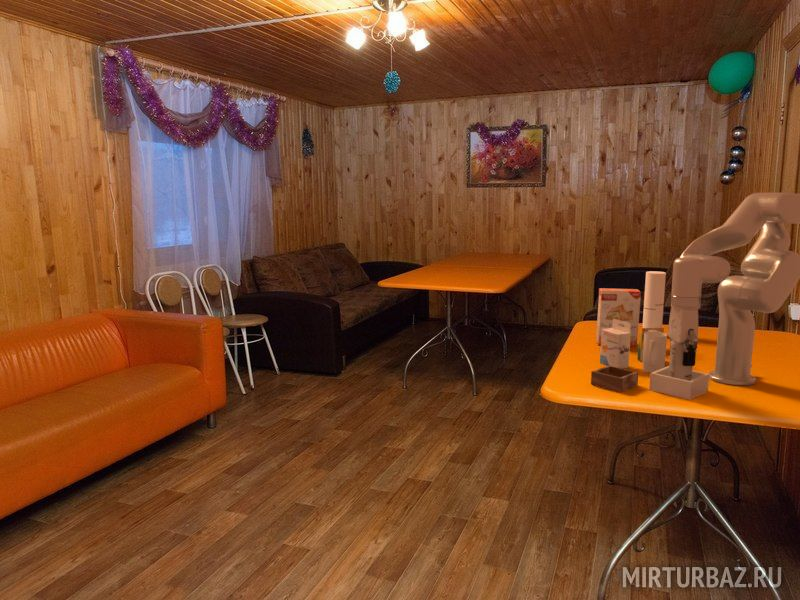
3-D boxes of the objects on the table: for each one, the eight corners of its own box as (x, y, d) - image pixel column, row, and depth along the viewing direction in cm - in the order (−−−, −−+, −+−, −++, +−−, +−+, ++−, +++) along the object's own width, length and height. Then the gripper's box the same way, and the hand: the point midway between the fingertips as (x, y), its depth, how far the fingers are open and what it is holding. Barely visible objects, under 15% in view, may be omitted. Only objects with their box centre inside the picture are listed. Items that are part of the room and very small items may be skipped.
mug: (644, 366, 200) (647, 330, 198) (666, 369, 196) (669, 333, 194) (637, 374, 192) (639, 336, 190) (659, 377, 188) (662, 339, 186)
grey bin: (668, 381, 184) (669, 365, 183) (708, 390, 175) (709, 374, 174) (649, 389, 176) (650, 373, 175) (689, 399, 168) (691, 382, 167)
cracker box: (598, 345, 227) (601, 290, 223) (595, 341, 233) (598, 287, 229) (637, 347, 225) (641, 290, 221) (634, 343, 231) (637, 288, 227)
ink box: (598, 363, 204) (601, 319, 202) (610, 361, 206) (612, 318, 204) (617, 369, 197) (620, 324, 194) (629, 367, 199) (632, 323, 196)
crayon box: (658, 359, 208) (660, 326, 206) (662, 361, 205) (664, 328, 203) (636, 359, 208) (639, 326, 206) (640, 361, 205) (642, 328, 203)
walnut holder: (608, 377, 188) (608, 365, 187) (637, 385, 181) (638, 372, 180) (590, 384, 181) (591, 371, 181) (620, 392, 174) (621, 378, 174)
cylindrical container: (664, 336, 240) (668, 273, 236) (646, 336, 241) (650, 273, 236) (657, 332, 248) (661, 271, 243) (639, 332, 248) (643, 271, 243)
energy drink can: (690, 392, 172) (693, 340, 169) (666, 389, 175) (670, 338, 172) (691, 386, 177) (695, 336, 174) (668, 383, 180) (672, 334, 177)
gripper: (661, 296, 180) (657, 352, 183) (683, 307, 163) (679, 369, 166) (687, 296, 179) (683, 352, 183) (712, 307, 162) (708, 369, 166)
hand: (681, 360), depth 174 cm, fingers open, 9 cm apart
